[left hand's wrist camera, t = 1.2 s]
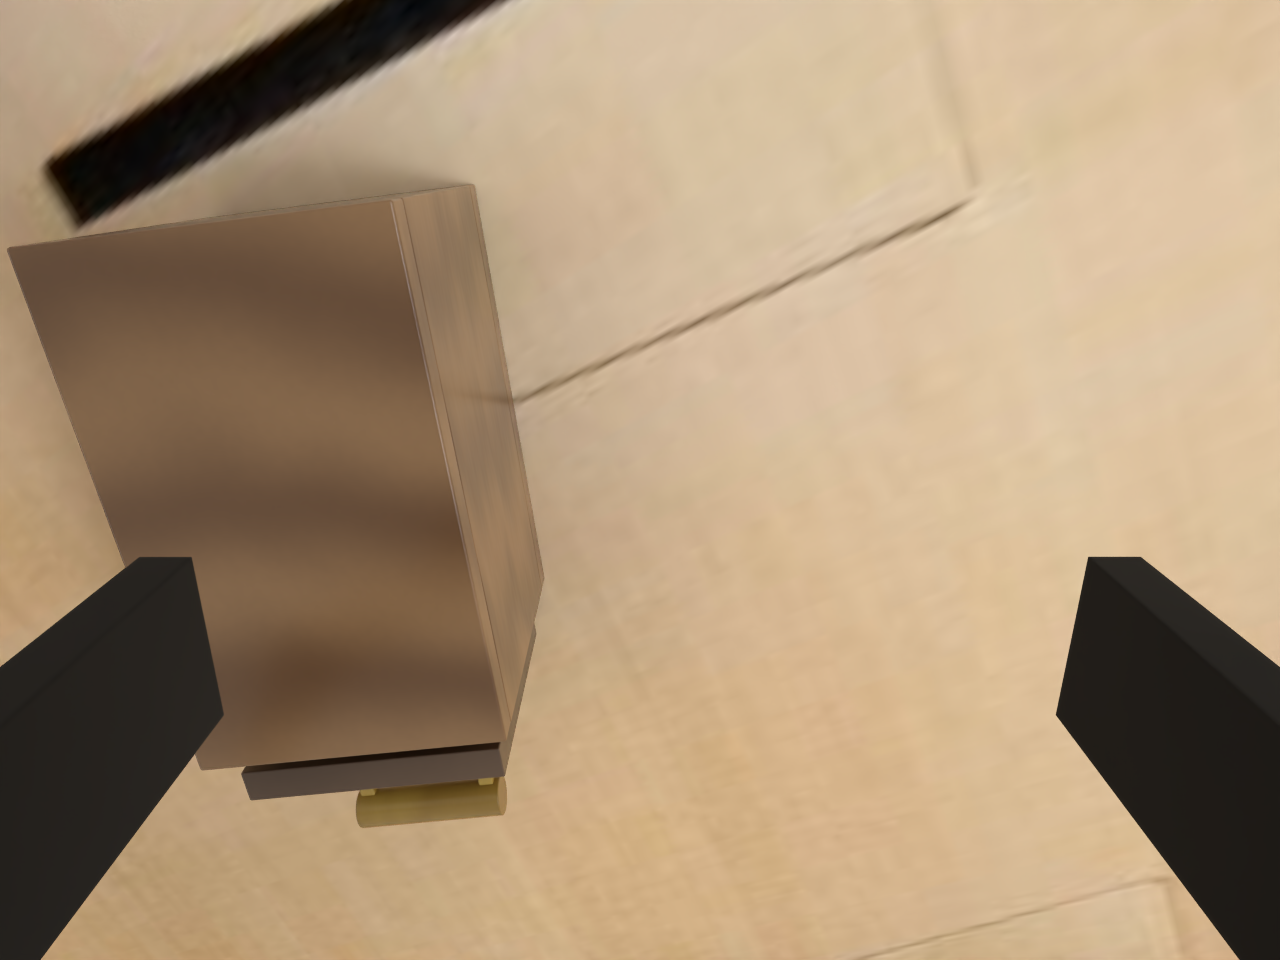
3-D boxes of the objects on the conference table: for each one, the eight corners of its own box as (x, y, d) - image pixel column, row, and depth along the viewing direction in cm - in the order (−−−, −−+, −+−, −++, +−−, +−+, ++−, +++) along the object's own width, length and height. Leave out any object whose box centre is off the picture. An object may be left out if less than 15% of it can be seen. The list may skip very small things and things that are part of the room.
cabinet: (544, 578, 38) (506, 742, 28) (321, 602, 39) (200, 771, 28) (474, 184, 32) (392, 199, 22) (211, 217, 33) (4, 248, 22)
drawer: (554, 731, 40) (530, 893, 31) (366, 749, 40) (289, 913, 32) (471, 283, 32) (408, 331, 24) (241, 311, 33) (96, 368, 24)
